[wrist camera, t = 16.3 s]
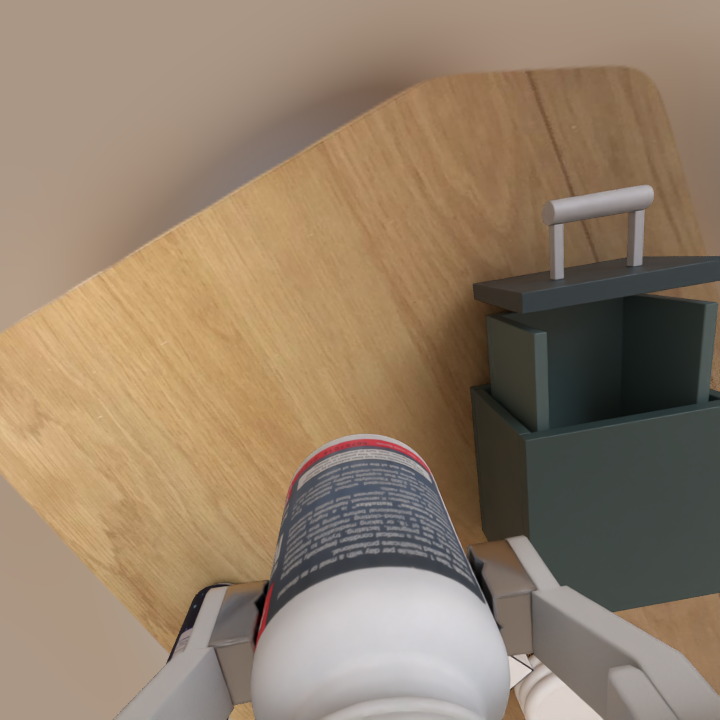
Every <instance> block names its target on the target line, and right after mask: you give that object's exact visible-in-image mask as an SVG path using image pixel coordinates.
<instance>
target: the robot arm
mask: <svg viewBox="0 0 720 720" xmlns="http://www.w3.org/2000/svg"><path fill="white" fill-rule="evenodd" d="M467 558H468V560H469V563H470V565H471V568H472V571H473V573H474V575H475V577H476V580H477V582H478V584H479V586H480V589H481V591H482V593H483V595H484V597H485V600H486V602H487V604H488V606H489V609H490V611H491V613H492V615H493V617H494V620H495V622H496V624H497V627H498V629H499V632H500V634H501V637H502V639H503V642H504V645H505V648H506V651H507V655H508V656H514V655H521V654H528V653H534V656H535V657H536V658H538V659H539V660H540V661H541V662H542V663H543V664H544V665H545V666H546V667H547V668H548V669H549V670H551V671H552V672H553V673H554V674H555V675H556V676H557V677H558V678H559V679H560V680H561V681H562V682H564V683H565V684H566V685H567V686H568V687H569V688H570V689H571V690H572V691H573V692H574V693H576V694H577V695H578V696H579V697H580V698H581V699H582V700H583V701H584V702H585V703H586V704H587V705H589V706H590V707H591V708H592V709H593V710H594V711H595V712H596V713H597V714H598V715H599V716H600V717H602V718H603V719H604V720H720V696H719V695H718V694H717V693H716V692H715V691H714V690H713V688H712V687H711V686H710V685H709V684H708V683H707V681H706V680H705V679H704V678H703V677H702V676H701V675H700V673H699V672H698V671H697V670H696V669H695V668H694V667H693V665H692V664H691V663H690V662H689V661H688V660H687V659H686V657H685V656H684V655H683V654H682V653H680V652H679V651H677V650H675V649H673V648H672V647H670V646H668V645H667V644H665V643H663V642H662V641H660V640H658V639H656V638H655V637H653V636H651V635H650V634H648V633H646V632H645V631H643V630H641V629H639V628H638V627H636V626H634V625H633V624H631V623H629V622H628V621H626V620H624V619H622V618H621V617H619V616H617V615H616V614H614V613H612V612H611V611H609V610H607V609H605V608H604V607H602V606H600V605H599V604H597V603H595V602H594V601H592V600H590V599H588V598H587V597H585V596H583V595H582V594H580V593H578V592H577V591H575V590H573V589H572V588H570V587H568V586H560V585H559V584H558V582H557V581H556V579H555V578H554V576H553V575H552V573H551V572H550V571H549V569H548V568H547V566H546V565H545V563H544V562H543V560H542V559H541V557H540V556H539V554H538V553H537V552H536V550H535V549H534V547H533V546H532V544H531V543H530V541H529V540H528V538H527V537H525V536H524V535H521V536H516V537H511V538H505V539H500V540H495V541H489V542H484V543H478V544H473V545H467ZM269 582H270V581H268V580H263V581H256V582H249V583H242V584H235V585H230V586H225V587H218V588H211V589H210V590H209V591H208V592H207V594H206V596H205V598H204V601H203V603H202V606H201V608H200V611H199V613H198V616H197V619H196V621H195V624H194V626H193V629H192V631H191V634H190V636H189V639H188V641H187V644H186V646H185V649H184V651H183V652H179V653H177V654H176V655H175V656H174V657H173V658H172V659H171V660H170V661H169V662H168V663H167V664H166V665H165V666H164V667H163V668H162V669H161V670H160V671H159V672H158V673H157V675H155V676H154V677H153V679H152V680H151V681H150V682H149V683H148V684H147V685H146V686H145V687H144V688H143V689H142V690H141V691H140V692H139V693H138V694H137V695H136V696H135V697H134V698H133V699H132V700H131V701H130V703H128V705H127V706H126V707H125V708H124V709H123V710H122V711H121V712H120V713H119V714H118V715H117V716H116V717H115V718H114V719H113V720H227V718H228V717H229V715H230V714H231V712H232V710H233V709H234V706H233V705H238V704H243V703H248V702H252V701H251V676H252V667H253V660H254V652H255V647H256V642H257V637H258V632H259V627H260V623H261V618H262V614H263V609H264V604H265V599H266V595H267V590H268V586H269Z"/></svg>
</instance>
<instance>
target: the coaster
mask: <svg viewBox="0 0 720 720" xmlns="http://www.w3.org/2000/svg"><path fill="white" fill-rule="evenodd" d="M528 659H529V661H530V663H531V665H532V667H533V669H534V671H532V672H531V673H530V674H529V675H528V676H527V677H525V678H524V679H523V680H522V681H521V682H520V683H518V684H517V685H516V686H515V687H514V690H515V695H516V698H517V700H518V701H519V703H520V707H521V710H522V712H523V714H524V715H525V719H526V720H604V719H603V718H602V717H600V716H599V715H598V714H597V713H596V712H595V711H594V710H593V709H592V708H591V707H590V706H589V705H587V704H586V703H585V702H584V701H583V700H582V699H581V698H580V697H579V696H578V695H577V694H576V693H574V692H573V691H572V690H571V689H570V688H569V687H568V686H567V685H566V684H565V683H564V682H562V681H561V680H560V679H559V678H558V677H557V676H556V675H555V674H554V673H553V672H552V671H551V670H549V669H548V668H547V667H546V666H545V665H544V664H543V663H542V662H541V661H540V660H539V659H538V658H536V657H535V656H534V654H533V655H531V656H530V657H529V658H528Z"/></svg>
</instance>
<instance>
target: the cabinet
mask: <svg viewBox="0 0 720 720" xmlns="http://www.w3.org/2000/svg"><path fill="white" fill-rule="evenodd" d="M470 391H471V403H472V414H473V426H474V437H475V449H476V461H477V472H478V484H479V495H480V507H481V519H482V530H483V532H484V534H485V536H486V538H487V540H488V541H495V540H500V539H505V538H511V537H516V536H521V535H524V536H525V537H527V538H528V540H529V541H530V543H531V544H532V546H533V547H534V549H535V550H536V552H537V553H538V554H539V556H540V557H541V559H542V560H543V562H544V563H545V565H546V566H547V568H548V569H549V571H550V572H551V573H552V575H553V576H554V578H555V579H556V581H557V582H558V584H559V585H560V586H568V587H570V588H572V589H573V590H575V591H577V592H578V593H580V594H582V595H583V596H585V597H587V598H588V599H590V600H592V601H594V602H595V603H597V604H599V605H600V606H602V607H604V608H605V609H607V610H609V611H611V612H616V611H622V610H627V609H633V608H638V607H644V606H649V605H655V604H660V603H666V602H671V601H677V600H682V599H688V598H693V597H699V596H704V595H710V594H715V593H720V392H718V391H715V390H713V389H710V390H709V400H708V402H704V403H698V404H693V405H687V406H681V407H675V408H670V409H664V410H658V411H653V412H647V413H641V414H636V415H630V416H624V417H619V418H613V419H607V420H601V421H596V422H590V423H584V424H579V425H573V426H567V427H562V428H556V429H550V430H545V431H539V432H533V433H531V432H530V431H529V430H528V429H527V428H525V427H524V426H523V425H522V424H521V423H520V422H519V421H518V420H517V419H515V418H514V417H513V416H512V415H511V414H510V413H509V412H508V411H507V410H506V409H504V408H503V407H502V406H501V405H500V404H499V403H498V402H497V401H496V400H494V399H493V398H492V395H491V383H490V384H485V385H479V386H473V387H470Z"/></svg>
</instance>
